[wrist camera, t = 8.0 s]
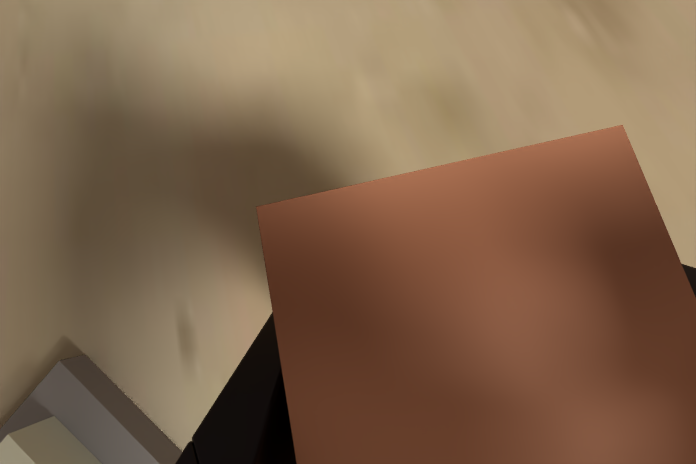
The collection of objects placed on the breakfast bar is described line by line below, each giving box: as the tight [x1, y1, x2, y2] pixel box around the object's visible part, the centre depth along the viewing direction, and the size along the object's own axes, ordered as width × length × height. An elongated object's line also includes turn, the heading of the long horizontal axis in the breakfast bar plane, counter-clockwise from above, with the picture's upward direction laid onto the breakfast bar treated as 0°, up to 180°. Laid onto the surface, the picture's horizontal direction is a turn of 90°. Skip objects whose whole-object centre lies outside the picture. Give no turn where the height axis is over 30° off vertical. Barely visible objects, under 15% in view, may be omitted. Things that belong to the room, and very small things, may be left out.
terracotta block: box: [256, 125, 696, 464], centre depth 9 cm, size 6×6×10 cm
